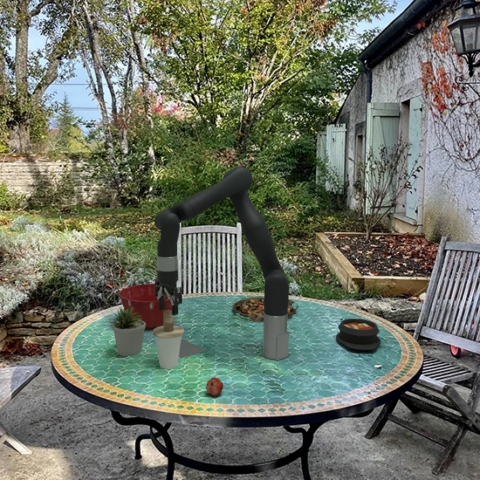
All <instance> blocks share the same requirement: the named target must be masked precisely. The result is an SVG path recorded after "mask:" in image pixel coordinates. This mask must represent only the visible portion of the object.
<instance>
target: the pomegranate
mask: <svg viewBox="0 0 480 480" xmlns="http://www.w3.org/2000/svg"><path fill="white" fill-rule="evenodd" d="M205 389H206V391H207V393H208V395H211V396H214V397H217V396H219V395H221V394H222V392H223V389H224V384H223V382H222V380H220V379H219V378H218V377H216V376H214V377H211V378H210V379H209V380H207V381H206V386H205Z"/></svg>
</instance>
